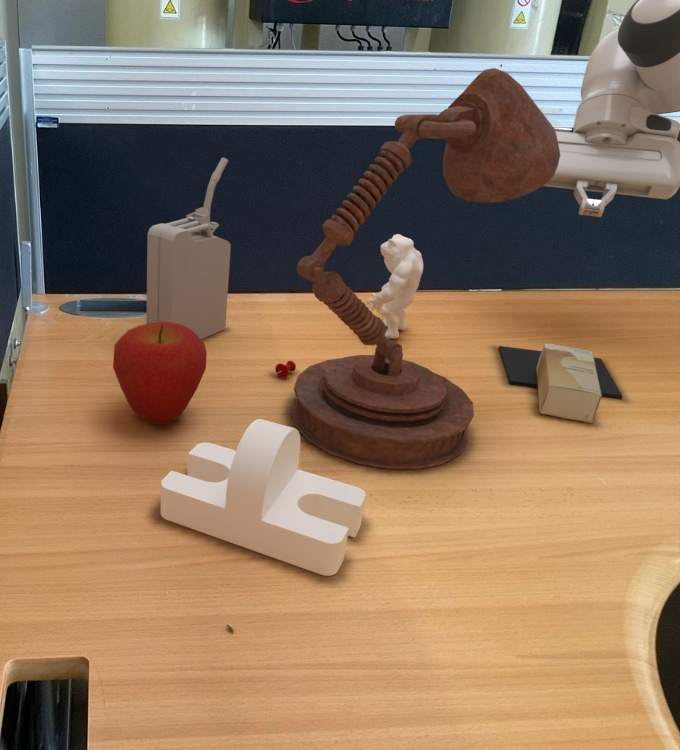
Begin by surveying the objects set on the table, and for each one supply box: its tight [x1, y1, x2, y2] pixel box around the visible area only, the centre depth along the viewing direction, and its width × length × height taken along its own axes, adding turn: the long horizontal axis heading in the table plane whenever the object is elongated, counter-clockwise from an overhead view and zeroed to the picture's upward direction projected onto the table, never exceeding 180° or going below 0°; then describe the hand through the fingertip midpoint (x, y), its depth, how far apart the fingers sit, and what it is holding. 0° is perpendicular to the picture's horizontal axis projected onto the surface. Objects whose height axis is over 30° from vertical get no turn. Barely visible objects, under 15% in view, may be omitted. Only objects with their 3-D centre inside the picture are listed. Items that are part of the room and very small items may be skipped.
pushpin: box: [275, 360, 297, 379], centre depth 102 cm, size 4×2×2 cm, turn 138°
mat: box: [498, 345, 623, 400], centre depth 106 cm, size 14×12×1 cm
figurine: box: [366, 233, 424, 339], centre depth 114 cm, size 11×7×15 cm, turn 150°
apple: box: [112, 322, 208, 425], centre depth 89 cm, size 11×11×12 cm
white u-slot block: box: [160, 418, 367, 577], centre depth 72 cm, size 10×18×10 cm, turn 62°
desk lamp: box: [290, 67, 560, 470], centre depth 84 cm, size 21×32×40 cm, turn 119°
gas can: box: [145, 157, 232, 340], centre depth 109 cm, size 15×5×25 cm, turn 138°
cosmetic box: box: [536, 342, 603, 424], centre depth 98 cm, size 6×4×12 cm
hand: (590, 213), depth 106 cm, fingers closed
